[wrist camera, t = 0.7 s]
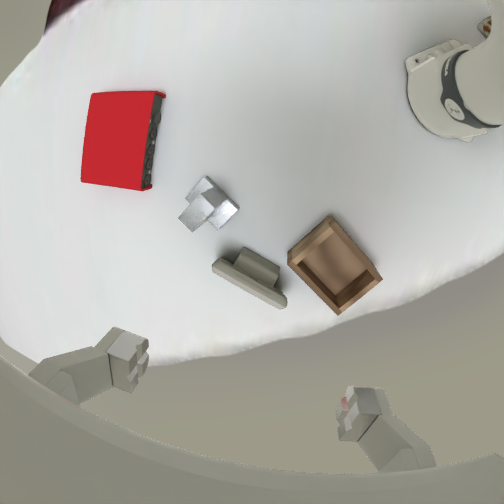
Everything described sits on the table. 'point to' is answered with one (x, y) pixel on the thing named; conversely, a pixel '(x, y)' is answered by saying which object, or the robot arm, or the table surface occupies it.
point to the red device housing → (121, 138)
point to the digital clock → (252, 276)
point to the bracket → (207, 206)
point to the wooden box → (333, 265)
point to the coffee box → (485, 26)
